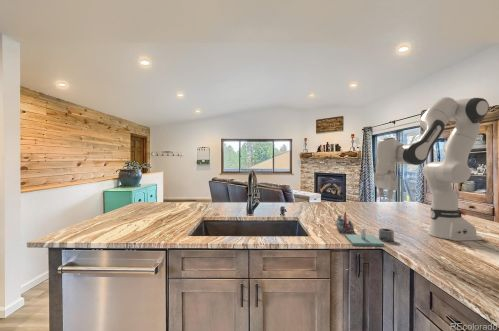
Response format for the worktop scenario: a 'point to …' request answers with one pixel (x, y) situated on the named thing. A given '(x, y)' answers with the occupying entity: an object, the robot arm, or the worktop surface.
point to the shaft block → (364, 239)
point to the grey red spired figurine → (344, 224)
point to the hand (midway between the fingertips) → (385, 197)
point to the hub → (386, 235)
